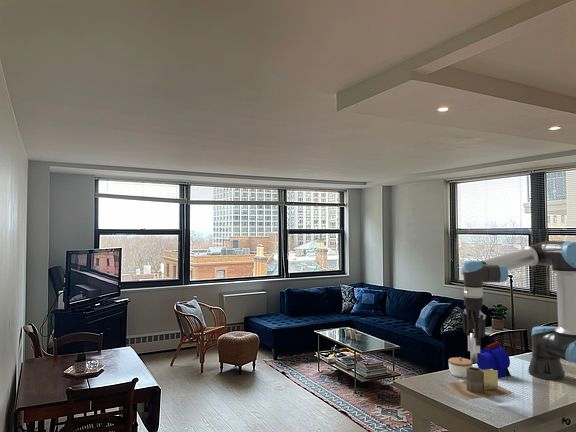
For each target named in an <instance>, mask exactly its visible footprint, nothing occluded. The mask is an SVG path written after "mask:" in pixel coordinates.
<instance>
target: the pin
mask: <svg viewBox="0 0 576 432" xmlns="http://www.w3.org/2000/svg"><path fill="white" fill-rule="evenodd" d="M474 337H475V333H474V332H473V333H470V351H469V352H470V357H469V358H470V359H469V360H470V362H473V363H475V364H477V362H478V360H477V356H478V353H474V339H473V338H474Z"/></svg>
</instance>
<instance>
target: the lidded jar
mask: <svg viewBox="0 0 576 432" xmlns="http://www.w3.org/2000/svg"><path fill="white" fill-rule="evenodd" d="M447 361H448V368H449V371H450V373H451V375H452V376H455V377H456V378H467V367H474V366H473V362H470V359H469V358H464V357H463V356H462V357H461V356H459V357H450V358H449V359H448V360H447Z"/></svg>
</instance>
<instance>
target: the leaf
mask: <svg viewBox="0 0 576 432" xmlns="http://www.w3.org/2000/svg"><path fill="white" fill-rule="evenodd" d="M498 379H499V378H498V370H491V371H483V390H491V389H498V386H499V382H498V381H499V380H498Z"/></svg>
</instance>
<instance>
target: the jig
mask: <svg viewBox="0 0 576 432" xmlns="http://www.w3.org/2000/svg"><path fill="white" fill-rule="evenodd" d="M491 370H494V369H488V370H482V369H480V368H478V366H477V367H476V366H473V367H467V377H466V380H462V381H454V382H446V383H438V385H439V386H441V387H442V388H445V389H447V390H448V391H451V392H452V393H454V394H456V395H458V396H459V397H461V398H463V399H465V400H473V399H480V398H488V397H495V396H503V395H511V394H514V392H512V391H511V390H509V389H507V388H504V387H502V386H500V385H498V389H491V390H483V371H491Z"/></svg>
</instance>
